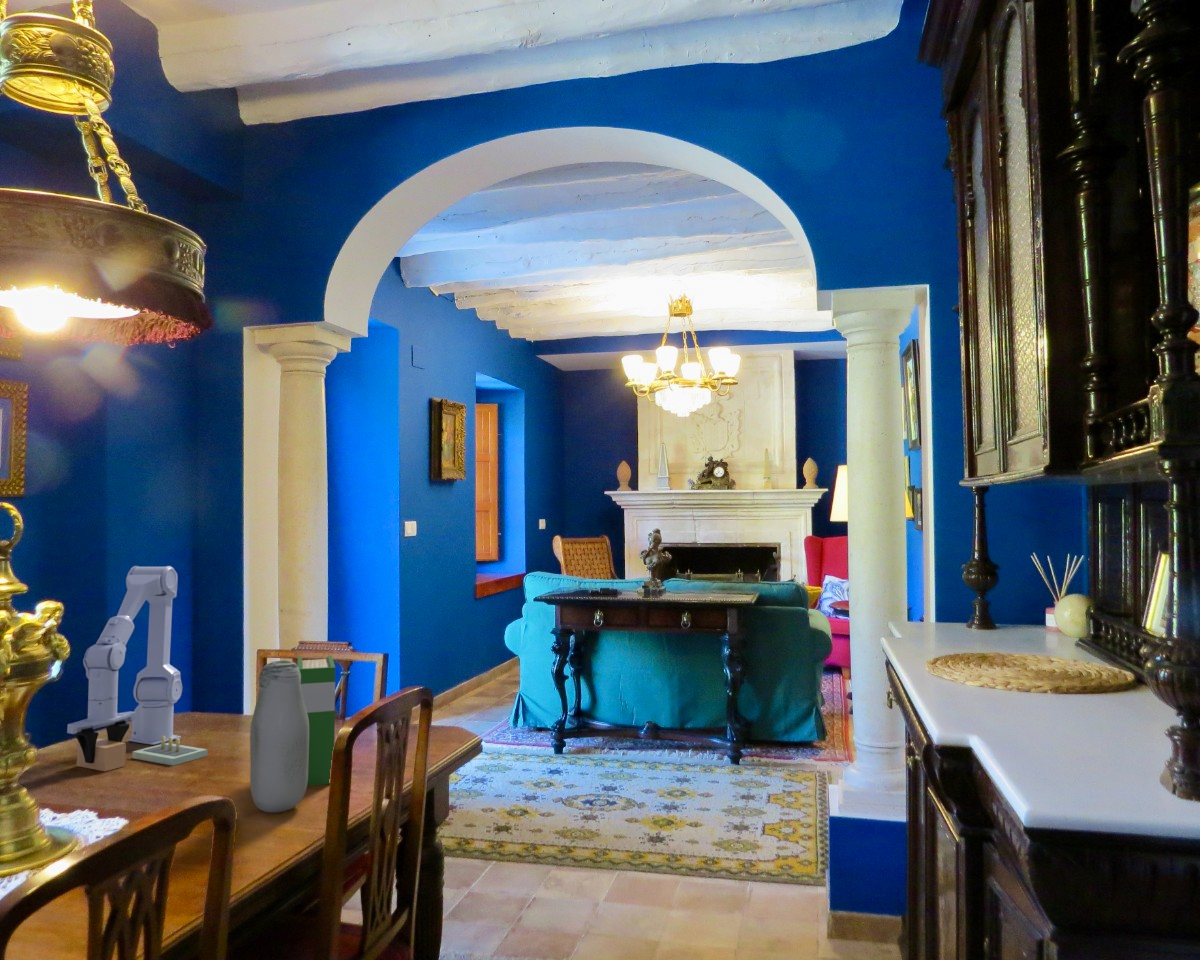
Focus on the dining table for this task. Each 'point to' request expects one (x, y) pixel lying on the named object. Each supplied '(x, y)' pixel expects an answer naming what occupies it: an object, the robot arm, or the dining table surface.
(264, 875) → the dining table surface
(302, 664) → the hardback book
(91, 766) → the block
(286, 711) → the gray bottle
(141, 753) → the header board
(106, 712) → the robot arm
